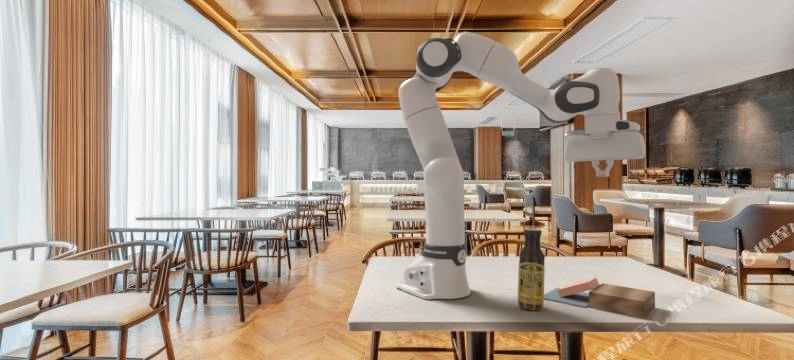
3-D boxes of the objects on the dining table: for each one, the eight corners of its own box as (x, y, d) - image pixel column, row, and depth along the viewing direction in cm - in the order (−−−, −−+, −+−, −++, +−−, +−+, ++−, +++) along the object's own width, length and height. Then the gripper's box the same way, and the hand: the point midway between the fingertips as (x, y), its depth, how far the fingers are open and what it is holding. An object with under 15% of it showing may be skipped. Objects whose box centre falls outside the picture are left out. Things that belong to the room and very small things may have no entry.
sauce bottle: (516, 310, 94) (516, 230, 95) (518, 302, 100) (517, 227, 100) (545, 313, 92) (544, 231, 92) (545, 305, 98) (544, 228, 98)
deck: (589, 307, 96) (588, 291, 96) (602, 297, 104) (602, 283, 104) (644, 319, 87) (644, 301, 87) (654, 307, 95) (654, 291, 95)
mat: (539, 298, 104) (539, 297, 104) (557, 288, 113) (557, 287, 113) (585, 308, 95) (585, 306, 95) (601, 296, 105) (601, 295, 105)
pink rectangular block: (560, 297, 103) (556, 290, 104) (568, 292, 108) (565, 285, 108) (592, 289, 98) (588, 281, 98) (599, 284, 102) (596, 277, 103)
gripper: (560, 130, 112) (560, 177, 111) (641, 122, 97) (641, 176, 97) (568, 132, 116) (568, 177, 116) (646, 124, 102) (647, 176, 102)
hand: (602, 176), depth 106 cm, fingers closed
